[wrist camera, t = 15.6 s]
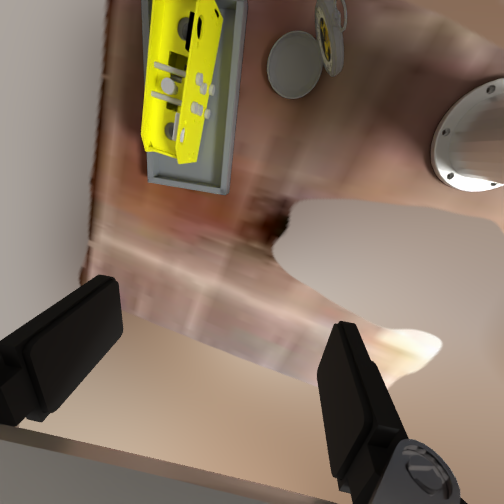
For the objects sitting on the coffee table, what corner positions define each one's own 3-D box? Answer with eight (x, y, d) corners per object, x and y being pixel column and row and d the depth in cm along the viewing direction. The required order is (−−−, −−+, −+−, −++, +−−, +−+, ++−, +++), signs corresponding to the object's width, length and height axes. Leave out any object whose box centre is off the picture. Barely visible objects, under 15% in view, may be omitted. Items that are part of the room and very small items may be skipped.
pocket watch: (257, 78, 30) (245, 46, 21) (299, 3, 27) (307, -74, 18) (307, 118, 31) (318, 105, 22) (354, 51, 28) (388, 2, 19)
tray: (248, 5, 27) (244, -8, 25) (229, 192, 36) (225, 195, 34) (152, -7, 28) (140, -21, 26) (156, 180, 37) (147, 182, 34)
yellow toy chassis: (201, 162, 34) (178, 166, 27) (164, 150, 34) (130, 150, 27) (228, 24, 28) (208, -24, 20) (182, 8, 28) (144, -46, 20)
